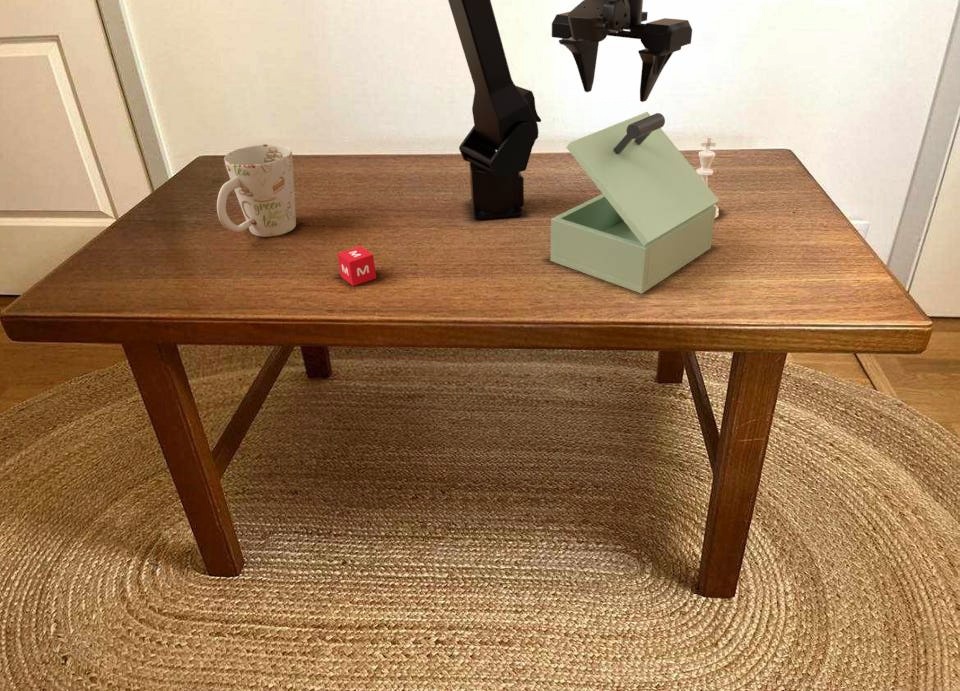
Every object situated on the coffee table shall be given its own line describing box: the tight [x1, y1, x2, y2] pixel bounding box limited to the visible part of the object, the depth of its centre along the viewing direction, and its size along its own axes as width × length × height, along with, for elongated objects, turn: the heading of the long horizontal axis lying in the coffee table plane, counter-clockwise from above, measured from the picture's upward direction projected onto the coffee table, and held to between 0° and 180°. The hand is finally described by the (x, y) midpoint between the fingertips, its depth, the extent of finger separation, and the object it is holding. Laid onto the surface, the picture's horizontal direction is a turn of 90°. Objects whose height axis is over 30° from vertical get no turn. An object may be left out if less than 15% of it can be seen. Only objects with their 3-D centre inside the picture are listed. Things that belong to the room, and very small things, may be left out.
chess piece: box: [695, 136, 720, 219], centre depth 92 cm, size 5×5×10 cm
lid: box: [565, 111, 720, 246], centre depth 78 cm, size 13×15×5 cm
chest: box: [549, 193, 717, 295], centre depth 84 cm, size 13×15×5 cm
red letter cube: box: [337, 245, 377, 287], centre depth 83 cm, size 3×3×3 cm
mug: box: [216, 143, 297, 238], centre depth 92 cm, size 8×13×10 cm, turn 155°
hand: (614, 96), depth 100 cm, fingers open, 9 cm apart
